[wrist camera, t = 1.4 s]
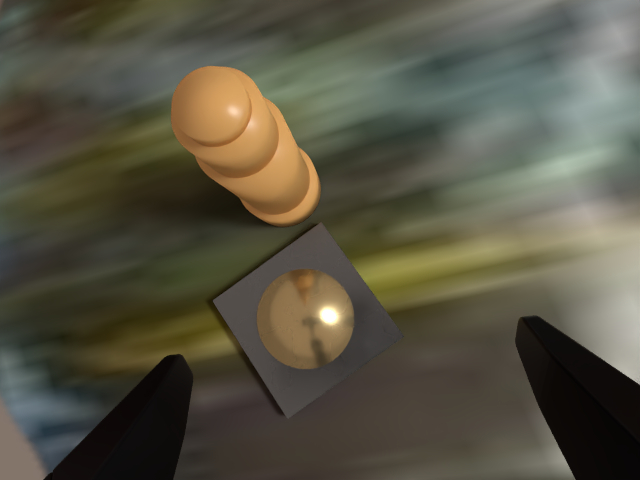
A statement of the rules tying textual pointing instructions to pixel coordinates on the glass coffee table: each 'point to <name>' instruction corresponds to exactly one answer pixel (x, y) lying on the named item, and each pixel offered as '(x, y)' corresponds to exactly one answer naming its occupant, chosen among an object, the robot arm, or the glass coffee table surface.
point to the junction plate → (306, 320)
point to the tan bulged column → (245, 144)
